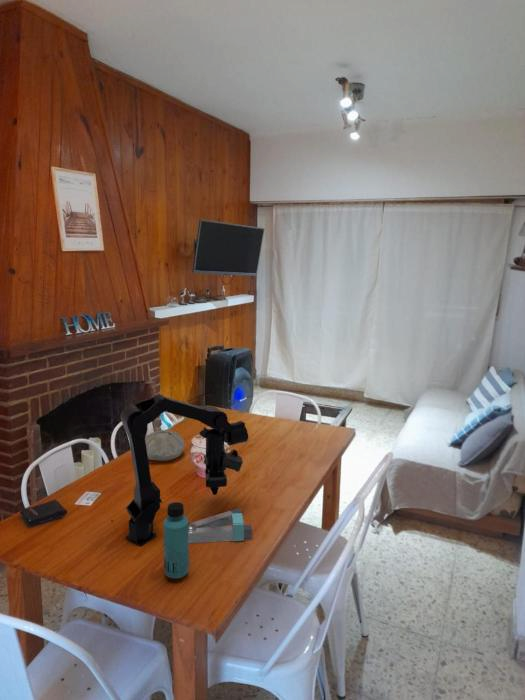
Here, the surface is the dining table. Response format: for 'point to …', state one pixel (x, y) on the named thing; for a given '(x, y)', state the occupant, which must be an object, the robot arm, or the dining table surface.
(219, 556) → the dining table surface
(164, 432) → the grey rounded lump
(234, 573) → the dining table surface
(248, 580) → the dining table surface
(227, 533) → the tongs body
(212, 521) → the tongs jaw
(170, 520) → the beverage bottle
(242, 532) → the lock collar
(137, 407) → the robot arm
